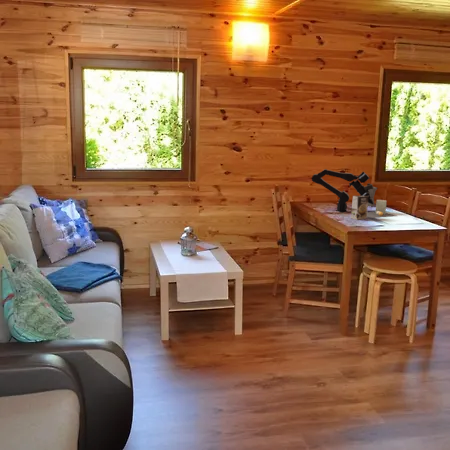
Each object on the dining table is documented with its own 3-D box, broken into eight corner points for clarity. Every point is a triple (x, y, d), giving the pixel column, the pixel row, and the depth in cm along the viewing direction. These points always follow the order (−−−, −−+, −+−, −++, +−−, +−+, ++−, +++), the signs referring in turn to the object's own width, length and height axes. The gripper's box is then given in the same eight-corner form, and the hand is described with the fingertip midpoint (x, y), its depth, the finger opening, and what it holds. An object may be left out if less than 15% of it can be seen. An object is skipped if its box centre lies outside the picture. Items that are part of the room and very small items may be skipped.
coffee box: (356, 220, 361) (358, 196, 358) (350, 218, 367) (352, 195, 363) (366, 219, 365) (368, 196, 362) (360, 217, 371) (362, 195, 367)
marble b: (380, 216, 374) (380, 212, 373) (377, 215, 377) (377, 211, 376) (383, 216, 375) (384, 212, 375) (380, 215, 378) (381, 211, 377)
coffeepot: (373, 204, 429) (375, 183, 426) (379, 206, 420) (381, 184, 417) (356, 204, 426) (357, 182, 422) (361, 206, 417) (363, 184, 413)
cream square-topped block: (385, 214, 383) (386, 201, 381) (375, 213, 384) (376, 200, 382) (384, 212, 389) (386, 200, 387) (375, 212, 391) (376, 199, 389)
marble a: (378, 215, 377) (378, 211, 377) (375, 214, 380) (375, 210, 380) (381, 215, 379) (381, 211, 378) (378, 214, 381) (378, 210, 381)
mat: (372, 218, 368) (372, 217, 367) (354, 213, 385) (354, 212, 385) (398, 216, 378) (398, 216, 378) (379, 212, 396) (379, 211, 395)
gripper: (367, 181, 376) (382, 197, 375) (367, 178, 394) (381, 194, 393) (355, 191, 379) (369, 207, 379) (355, 188, 397) (369, 203, 397)
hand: (372, 203), depth 387 cm, fingers open, 9 cm apart
